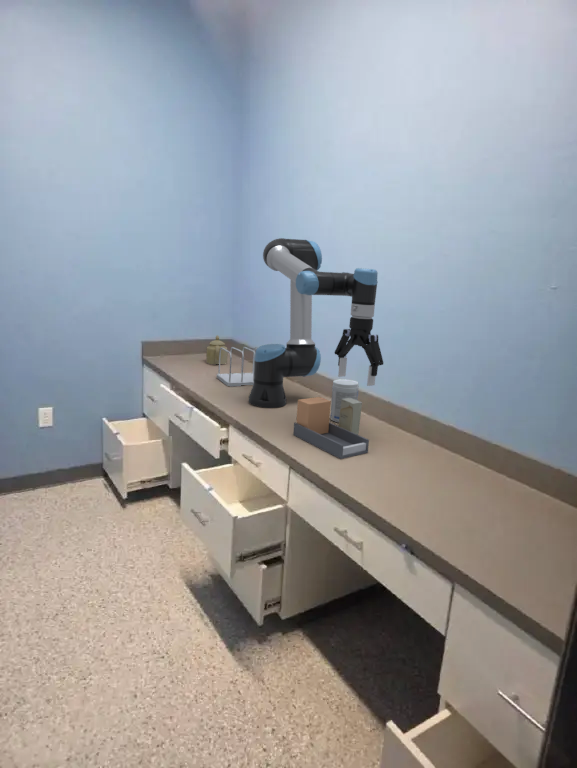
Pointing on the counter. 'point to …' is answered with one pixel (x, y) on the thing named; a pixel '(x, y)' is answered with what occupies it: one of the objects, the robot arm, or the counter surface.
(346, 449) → the tray
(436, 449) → the counter surface
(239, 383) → the file sorter
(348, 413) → the skincare box
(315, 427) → the block
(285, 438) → the counter surface
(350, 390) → the supplement tub
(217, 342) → the sugar bowl
